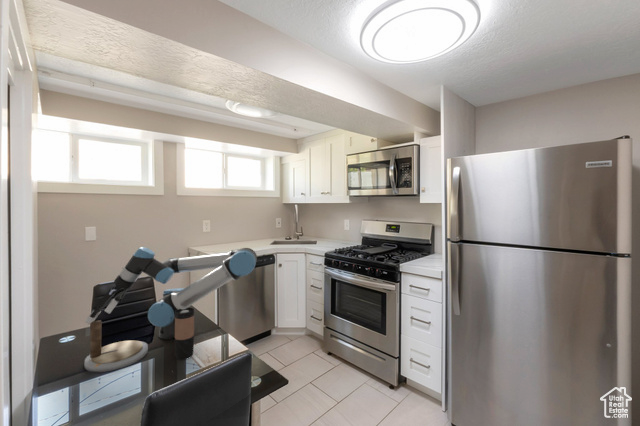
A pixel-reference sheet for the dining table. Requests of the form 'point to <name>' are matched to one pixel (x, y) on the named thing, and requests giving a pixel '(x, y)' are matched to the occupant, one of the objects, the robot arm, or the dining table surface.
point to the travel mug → (184, 333)
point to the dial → (110, 347)
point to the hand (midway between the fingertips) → (98, 317)
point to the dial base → (115, 365)
